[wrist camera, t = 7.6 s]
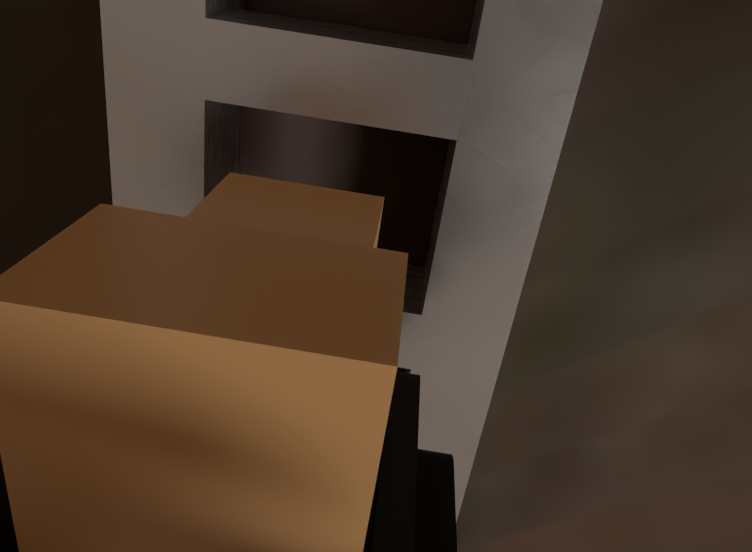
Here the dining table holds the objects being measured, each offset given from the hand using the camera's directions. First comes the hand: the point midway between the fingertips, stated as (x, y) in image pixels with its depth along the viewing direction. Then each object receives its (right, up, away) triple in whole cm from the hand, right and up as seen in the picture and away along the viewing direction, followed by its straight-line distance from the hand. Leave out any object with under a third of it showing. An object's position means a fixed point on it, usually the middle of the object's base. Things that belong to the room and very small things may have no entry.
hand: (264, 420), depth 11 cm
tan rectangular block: (0, +1, +2) cm, 2 cm away
